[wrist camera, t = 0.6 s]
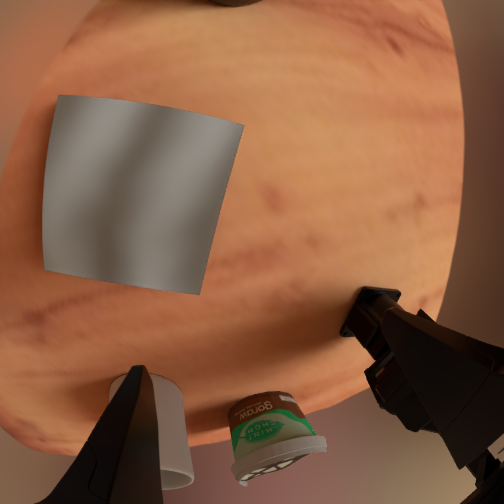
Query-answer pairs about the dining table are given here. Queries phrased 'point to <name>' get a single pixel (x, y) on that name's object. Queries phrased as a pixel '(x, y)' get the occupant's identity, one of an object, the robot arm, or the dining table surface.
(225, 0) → the supplement bottle
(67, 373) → the dining table surface
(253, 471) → the food container
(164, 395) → the mug
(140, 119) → the plate
